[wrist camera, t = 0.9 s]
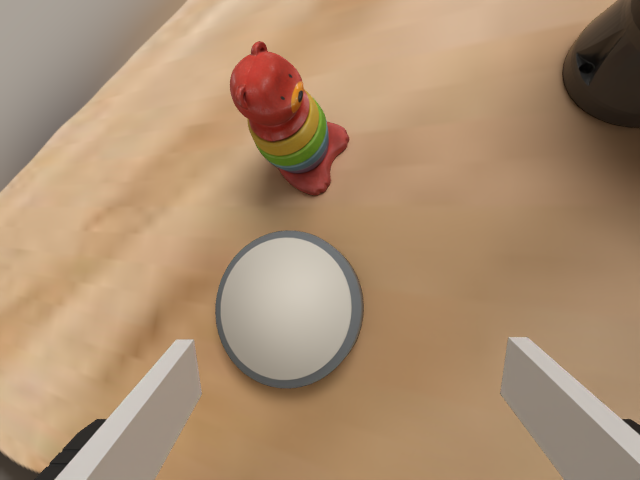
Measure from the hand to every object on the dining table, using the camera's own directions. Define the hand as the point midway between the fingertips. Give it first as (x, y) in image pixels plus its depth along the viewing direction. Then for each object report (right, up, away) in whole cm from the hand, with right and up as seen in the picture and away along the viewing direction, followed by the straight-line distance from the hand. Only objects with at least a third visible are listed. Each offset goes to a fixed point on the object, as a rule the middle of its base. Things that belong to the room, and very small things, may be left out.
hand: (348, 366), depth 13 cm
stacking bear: (-3, +18, +32) cm, 37 cm away
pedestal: (-5, -4, +28) cm, 28 cm away
